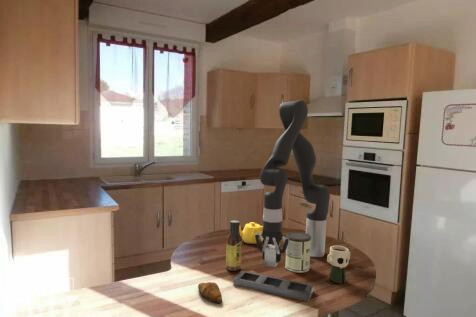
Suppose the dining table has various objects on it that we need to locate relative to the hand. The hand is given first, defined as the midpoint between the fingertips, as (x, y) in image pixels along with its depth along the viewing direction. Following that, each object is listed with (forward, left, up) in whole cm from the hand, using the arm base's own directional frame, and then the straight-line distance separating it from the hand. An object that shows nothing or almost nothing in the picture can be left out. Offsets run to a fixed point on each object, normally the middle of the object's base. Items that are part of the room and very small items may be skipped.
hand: (271, 261), depth 132 cm
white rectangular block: (0, 0, -1) cm, 1 cm away
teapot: (-37, -22, -7) cm, 43 cm away
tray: (+9, +3, -6) cm, 12 cm away
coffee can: (-14, +7, -7) cm, 17 cm away
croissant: (+24, -15, -7) cm, 29 cm away
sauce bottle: (-1, -17, -7) cm, 18 cm away
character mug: (-8, +25, -7) cm, 27 cm away
